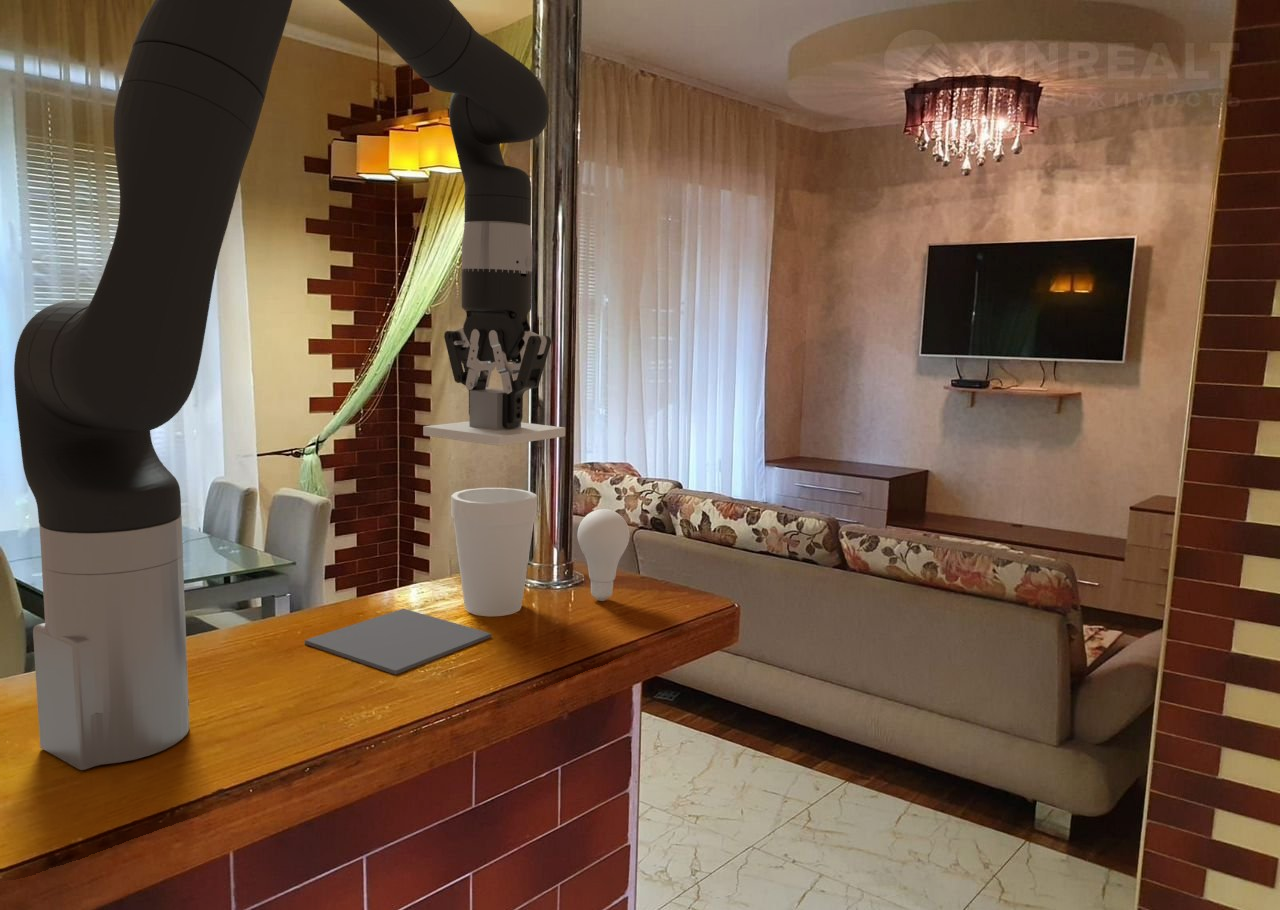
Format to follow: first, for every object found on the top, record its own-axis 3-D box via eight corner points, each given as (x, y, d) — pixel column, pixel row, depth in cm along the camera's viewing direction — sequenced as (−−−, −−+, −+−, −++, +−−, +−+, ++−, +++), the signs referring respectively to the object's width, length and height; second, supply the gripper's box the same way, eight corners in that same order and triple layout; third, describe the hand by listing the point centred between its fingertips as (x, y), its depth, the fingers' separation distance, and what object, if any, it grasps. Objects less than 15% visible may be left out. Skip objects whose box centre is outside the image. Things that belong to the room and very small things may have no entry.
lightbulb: (566, 603, 110) (568, 510, 108) (591, 590, 115) (594, 502, 114) (612, 611, 107) (615, 517, 106) (636, 598, 113) (639, 508, 111)
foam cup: (528, 622, 102) (529, 505, 100) (443, 619, 103) (443, 502, 101) (539, 596, 112) (540, 489, 110) (461, 593, 112) (461, 486, 110)
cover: (499, 446, 97) (500, 397, 96) (423, 435, 103) (423, 389, 102) (565, 436, 106) (566, 392, 105) (491, 427, 112) (492, 385, 111)
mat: (395, 674, 87) (395, 670, 87) (304, 643, 94) (304, 640, 94) (491, 637, 97) (491, 633, 97) (403, 612, 104) (403, 608, 104)
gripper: (424, 265, 102) (424, 422, 105) (525, 265, 95) (522, 435, 97) (472, 269, 108) (471, 417, 111) (570, 269, 101) (567, 429, 103)
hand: (495, 424), depth 104 cm, fingers closed on cover, 4 cm apart
